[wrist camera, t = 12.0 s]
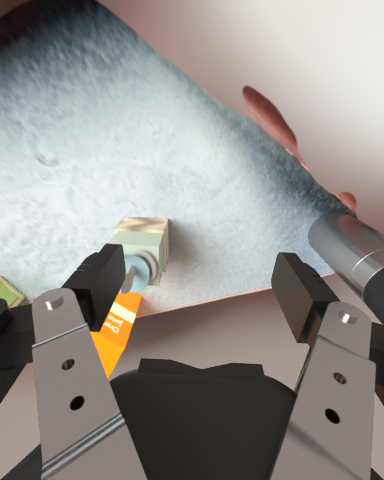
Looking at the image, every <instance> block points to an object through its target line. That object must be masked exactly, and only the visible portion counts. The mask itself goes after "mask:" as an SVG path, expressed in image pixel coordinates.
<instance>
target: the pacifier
mask: <svg viewBox="0 0 384 480" xmlns="http://www.w3.org/2000/svg"><path fill="white" fill-rule="evenodd" d="M139 256H142V257H145V258H146V259H147V260H148V261H149V263H150V264H151V267H152V274H151V276H149V275H150V272H149V267H148V265H147V263H146V262H145V261H144V260H143V259H142V258H140V257H139ZM124 259H126V260H127V261H125V268H126V275H125V280H124V282H123V285H122V287H121V289H120V291H119V292H120V293H121V294H127V293H128V292H129V291H130V292H139V291H141V290H143V289H144V288H145V287H146V285H147V284H148V283H149V282H152V281H153V280H154V279H155V278H156V275H157V266H156V263H155V260H154V259H153V257H152V256H151V255H150V254H149V253H147V252H145V251H137V252H135V253H134V254H133V255H131V254H124Z"/></svg>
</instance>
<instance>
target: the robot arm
mask: <svg viewBox="0 0 384 480" xmlns="http://www.w3.org/2000/svg"><path fill="white" fill-rule="evenodd" d="M308 240H309V243H310V245H311V247H312V248H313V249H314V250H315V251H316V252H317V253H318V254H319V255H320V256H321V257H322V259H323V260H324V261H325V262H326V263H327V264H328V265H329V266H330V267H331V268H332V269H333V270H334V271H335V272H336V273H337V274H338V275H339V277H340V278H341V279H343V281H344V282H345V283H346V284H347V285H348V286H349V287H350V288H351V289H352V290H353V291H354V292H355V293H356V295H357V296H358V297H359V298H360V299H361V300H362V301H363V302H364V303H365V304H366V305H367V306H368V307H369V308H370V309H371V310H372V312H373V313H374V314H375V316H376V317H377V318H378V319H379V321H380V322H381V323H382V324H383V325H381V324H378V323H374V322H371V320H370V319H369V317H368V316H367V315H366V314H365V313H364V312H363V311H362V310H360V309H359V308H357V307H355V306H353V305H350V304H348V303H344V302H341V301H340V300H339V299H338V297H337V296H336V295H335V294H334V292H333V291H332V290H331V289H330V288H329V286H328V285H327V284H326V283H325V281H324V280H323V279H322V278H320V275H319V274H318V273H317V272H316V270H315V269H314V268H312V267H311V266H309V265H308V264H306V263H303V262H302V261H301V259H300V258H299V257H298V256H297V254H296V253H285V252H280V253H278V255H277V258H276V262H275V266H274V270H273V274H272V279H271V284H272V289H273V291H274V293H275V296H276V298H277V300H278V302H279V304H280V307H281V309H282V311H283V313H284V315H285V318H286V320H287V322H288V324H289V326H290V328H291V331H292V333H293V335H294V337H295V339H296V341H297V343H308V344H309V346H310V348H309V351H308V353H307V356H306V359H305V361H304V364H303V367H302V370H301V372H300V375H299V378H298V381H297V383H296V386H295V388H294V391H293V390H291V389H290V388H289V387H287V386H286V385H284V384H282V383H281V382H279V381H277V380H276V379H273V378H271V377H269V376H266V375H264V372H263V367H262V365H261V364H244V363H229V364H225V365H220V366H215V367H210V368H206V369H199V368H195V367H192V366H189V365H186V364H182V363H179V362H176V361H173V360H164V359H145V358H142V359H141V361H140V365H139V369H135V370H131V371H128V372H125V373H123V374H121V375H119V376H117V377H116V378H114V379H112V380H111V381H110V382H109V380H108V378H107V375H106V372H105V370H104V367H103V364H102V362H101V359H100V356H99V354H98V351H97V348H96V346H95V343H94V340H93V338H92V335H91V332H100V331H101V328H102V326H103V324H104V322H105V320H106V318H107V316H108V314H109V312H110V310H111V308H112V305H113V303H114V301H115V299H116V297H117V295H118V293H119V291H120V289H121V287H122V285H123V282H124V280H125V275H126V268H125V259H124V251H123V246H122V244H108V243H107V244H105V245H104V247H103V248H102V249H101V251H100V252H99V253H97V252H95V253H93V254H92V255H90V256H88V257H87V258H86V259H85V260H84V261H83V262H82V263H81V265H80V266H79V267H78V268H77V270H76V271H75V272H74V273H73V274H72V275H71V276H70V278H69V279H68V280H67V281H66V282H65V283H64V285H63V286H62V287H61V288H57V289H53V290H50V291H47V292H45V293H43V294H41V295H40V296H39V297H37V298H36V299H35V300H34V302H33V304H30V305H24V306H18V307H12V308H9V306H8V303H7V301H6V300H5V299H2V298H0V403H1V402H2V400H3V399H4V397H5V396H6V394H7V393H8V391H9V389H10V388H11V387H12V385H13V383H14V382H15V381H16V379H17V377H18V376H19V374H20V373H21V371H22V370H23V368H24V367H25V365H26V364H27V363H31V362H33V366H34V376H35V387H36V397H37V408H38V418H39V429H40V440H41V443H40V444H39V445H38V446H37V447H36V448H35V449H34V450H33V451H32V452H31V453H29V454H28V455H27V456H26V457H25V458H24V459H23V460H22V461H21V462H20V463H18V464H17V465H16V466H15V467H14V468H13V469H12V470H11V471H10V472H9V473H8V474H6V475H5V476H4V477H3V478H2V479H1V480H383V479H382V478H381V477H380V476H379V475H378V474H377V473H376V472H375V471H374V470H373V469H372V468H371V451H372V432H373V413H374V412H373V411H374V393H375V392H376V394H377V396H378V397H379V399H380V401H381V402H382V404H383V405H384V235H383V234H382V233H380V232H378V231H377V230H375V229H373V228H371V227H370V226H368V225H366V224H364V223H363V222H361V221H359V220H357V219H355V218H354V217H352V216H350V215H348V214H347V213H343V212H333V213H329V214H326V215H324V216H322V217H321V218H319V219H318V220H317V221H316V222H315V223H314V224H313V226H312V227H311V229H310V231H309V235H308Z"/></svg>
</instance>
